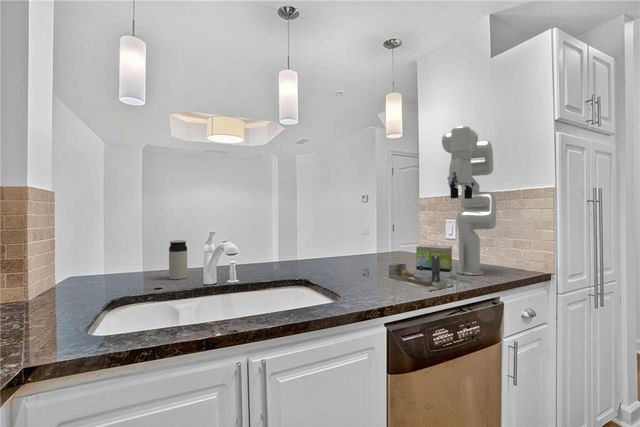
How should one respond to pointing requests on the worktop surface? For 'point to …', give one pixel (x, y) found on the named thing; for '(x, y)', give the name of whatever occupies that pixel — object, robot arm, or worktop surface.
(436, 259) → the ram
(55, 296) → the worktop surface
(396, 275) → the press bed
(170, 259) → the travel mug
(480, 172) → the robot arm
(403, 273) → the walnut
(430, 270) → the tea box
